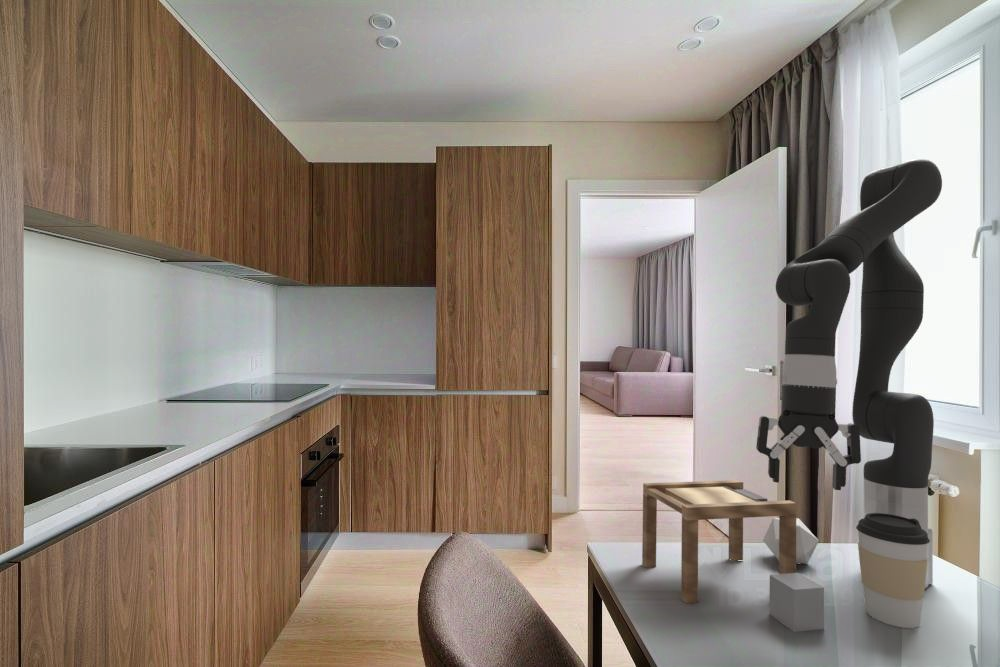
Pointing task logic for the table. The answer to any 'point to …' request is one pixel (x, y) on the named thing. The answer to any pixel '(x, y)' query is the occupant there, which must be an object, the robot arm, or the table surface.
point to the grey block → (797, 602)
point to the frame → (714, 511)
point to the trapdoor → (712, 495)
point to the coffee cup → (893, 568)
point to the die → (803, 540)
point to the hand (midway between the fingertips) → (805, 485)
